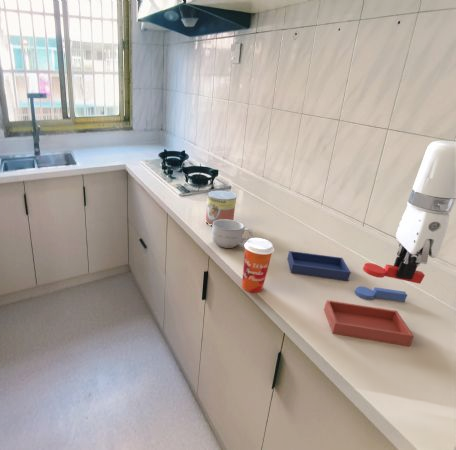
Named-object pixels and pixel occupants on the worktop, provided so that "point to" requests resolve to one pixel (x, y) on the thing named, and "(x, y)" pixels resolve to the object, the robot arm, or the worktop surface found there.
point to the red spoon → (390, 272)
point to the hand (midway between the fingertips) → (401, 275)
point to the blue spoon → (380, 294)
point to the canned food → (220, 205)
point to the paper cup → (256, 263)
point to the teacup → (229, 233)
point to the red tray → (367, 323)
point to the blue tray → (318, 265)
